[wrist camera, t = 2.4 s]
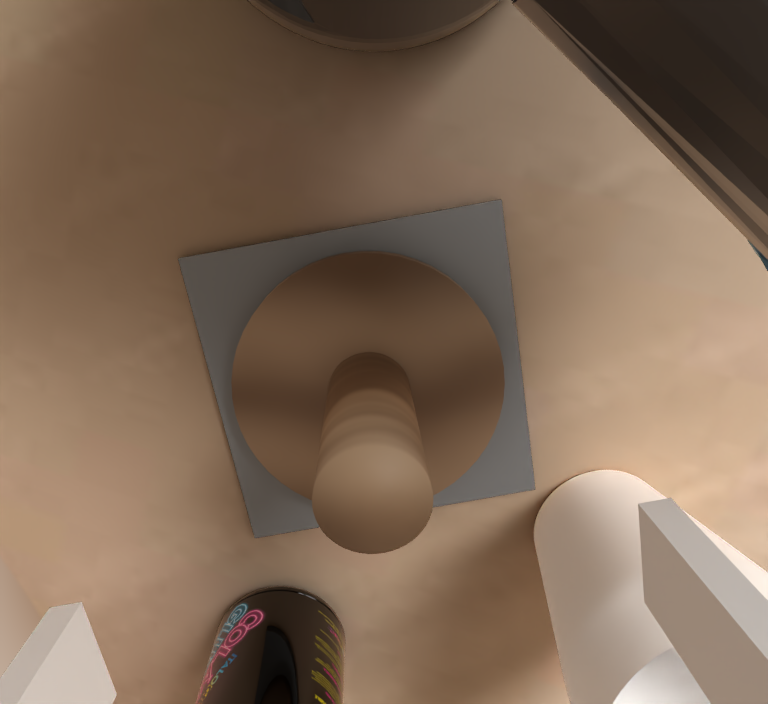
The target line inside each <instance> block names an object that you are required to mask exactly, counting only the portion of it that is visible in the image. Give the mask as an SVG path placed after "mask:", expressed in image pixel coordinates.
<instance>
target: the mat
mask: <svg viewBox="0 0 768 704" xmlns="http://www.w3.org/2000/svg"><path fill="white" fill-rule="evenodd" d="M356 251H383V252H389V253H396V254H400V255H404V256H407V257H411V258H414V259H417V260H419V261H421V262H424V263H426V264H428V265H431V266H433V267H434V268H436V269H437V270H439V271H441V272H442V273H444V274H446V275H447V276H448V277H450V278H451V279H452V280H453V281H455V282H456V283H457V284H458V285H459V286H461V287H462V289H463V290H464V291H465V292H466V293H467V294H468V295H469V296H470V297H471V298H472V299H473V300H474V302H475V303H476V304H477V305H478V307H479V308H480V310H481V311H482V313H483V314H484V315H485V317H486V318H487V320H488V322H489V324H490V326H491V328H492V330H493V332H494V334H495V336H496V339H497V342H498V345H499V348H500V350H501V355H502V360H503V365H504V378H505V388H504V400H503V405H502V409H501V414H500V418H499V420H498V423H497V426H496V429H495V431H494V433H493V435H492V437H491V439H490V441H489V443H488V445H487V447H486V448H485V450H484V451H483V452H482V454H481V455H480V457H479V458H478V459H477V461H476V462H475V463H474V464H473V465H472V466H471V467H470V468H469V470H468V471H467V472H466V473H465V474H463V475H462V476H461V477H460V478H459V479H458V480H456V481H455V482H454V483H453V484H451V485H450V486H448V487H447V488H445V489H444V490H442V491H441V492H439V493H437V494H435V495H433V507H438V506H444V505H450V504H455V503H461V502H467V501H472V500H478V499H484V498H490V497H495V496H501V495H507V494H513V493H518V492H524V491H530V490H535V482H534V473H533V465H532V456H531V447H530V439H529V430H528V422H527V413H526V404H525V396H524V387H523V379H522V370H521V361H520V353H519V344H518V336H517V327H516V318H515V310H514V301H513V293H512V284H511V276H510V267H509V258H508V250H507V241H506V233H505V224H504V215H503V207H502V200H500V199H499V200H494V201H488V202H483V203H477V204H472V205H467V206H461V207H456V208H450V209H445V210H439V211H434V212H428V213H423V214H417V215H412V216H406V217H401V218H395V219H390V220H384V221H379V222H373V223H368V224H363V225H357V226H352V227H346V228H341V229H335V230H330V231H324V232H319V233H313V234H308V235H302V236H297V237H291V238H286V239H280V240H275V241H269V242H264V243H259V244H253V245H248V246H242V247H237V248H231V249H226V250H220V251H215V252H209V253H204V254H198V255H193V256H187V257H182V258H179V259H178V261H179V265H180V268H181V272H182V275H183V279H184V283H185V286H186V290H187V294H188V297H189V301H190V304H191V308H192V312H193V315H194V319H195V323H196V326H197V330H198V334H199V337H200V341H201V344H202V348H203V352H204V355H205V359H206V363H207V366H208V370H209V374H210V377H211V381H212V384H213V388H214V392H215V395H216V399H217V403H218V406H219V410H220V413H221V417H222V421H223V424H224V428H225V432H226V435H227V439H228V443H229V446H230V450H231V453H232V457H233V461H234V464H235V468H236V472H237V475H238V479H239V483H240V486H241V490H242V493H243V497H244V501H245V504H246V508H247V512H248V515H249V519H250V523H251V526H252V530H253V533H254V537H255V538H260V537H266V536H272V535H277V534H283V533H289V532H295V531H300V530H306V529H312V528H318V527H319V525H318V523H317V521H316V519H315V516H314V513H313V508H312V500H310V499H308V498H306V497H304V496H302V495H300V494H298V493H296V492H294V491H293V490H291V489H290V488H288V487H287V486H285V485H284V484H282V483H281V482H280V481H279V480H277V479H276V478H275V477H274V476H273V475H272V474H271V473H269V472H268V471H267V469H266V468H265V467H264V466H263V465H262V464H261V463H260V462H259V460H258V459H257V458H256V456H255V455H254V453H253V452H252V450H251V449H250V447H249V446H248V444H247V442H246V440H245V438H244V436H243V434H242V432H241V430H240V427H239V424H238V421H237V418H236V415H235V410H234V405H233V400H232V384H231V380H232V369H233V362H234V358H235V353H236V349H237V346H238V343H239V341H240V338H241V336H242V333H243V331H244V329H245V327H246V326H247V324H248V322H249V320H250V318H251V317H252V315H253V314H254V312H255V311H256V310H257V308H258V307H259V306H260V304H261V303H262V302H263V300H264V299H265V298H266V296H267V295H268V294H269V293H270V292H271V291H272V290H273V289H274V288H275V287H276V286H277V285H278V284H279V283H281V282H282V281H283V280H285V279H286V278H287V277H289V276H290V275H291V274H293V273H294V272H296V271H298V270H299V269H301V268H303V267H305V266H307V265H308V264H310V263H313V262H315V261H318V260H321V259H323V258H326V257H329V256H333V255H337V254H341V253H347V252H356Z"/></svg>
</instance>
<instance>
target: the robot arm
mask: <svg viewBox="0 0 768 704" xmlns="http://www.w3.org/2000/svg"><path fill="white" fill-rule="evenodd" d="M248 1H249V2H250V3H251V4H252V5H253V6H255V7H256V8H257V9H258V10H260V11H261V12H262V13H264V14H265V15H266V16H268V17H269V18H271V19H272V20H274V21H275V22H277V23H278V24H280V25H282V26H283V27H285V28H287V29H289V30H291V31H293V32H294V33H297V34H299V35H301V36H303V37H306V38H308V39H311V40H313V41H316V42H319V43H322V44H325V45H329V46H333V47H337V48H342V49H348V50H356V51H371V52H381V51H395V50H401V49H408V48H412V47H416V46H421V45H424V44H427V43H430V42H433V41H436V40H438V39H441V38H443V37H446V36H448V35H450V34H452V33H454V32H456V31H458V30H460V29H462V28H464V27H465V26H467V25H469V24H470V23H472V22H473V21H475V20H476V19H478V18H479V17H480V16H482V15H483V14H485V13H486V12H487V11H488V10H490V9H491V8H492V7H493V6H494V5H496V4H497V3H498V2H499V1H500V0H248ZM512 1H513V0H512ZM512 4H513V5H514V6H515V7H516V8H517V9H518V10H519V11H520V12H521V13H522V14H523V15H524V16H525V17H526V18H527V19H528V20H529V21H530V22H531V23H532V24H533V25H534V26H535V27H536V28H537V29H538V30H539V31H540V32H541V33H542V34H543V35H544V36H545V37H546V38H547V39H549V40H550V41H551V42H552V43H553V44H554V45H555V46H556V47H557V48H558V49H559V50H560V51H561V52H562V53H563V54H564V55H565V56H566V57H567V58H568V59H569V60H570V61H571V62H572V63H573V64H574V65H575V66H576V67H577V68H578V69H579V70H580V71H581V72H582V73H583V74H584V75H585V76H586V77H587V78H588V79H589V80H590V81H591V82H592V83H593V84H594V85H595V86H596V87H598V88H599V89H600V90H601V91H602V92H603V93H604V94H605V95H606V96H607V97H608V98H609V99H610V100H611V101H612V102H613V103H614V104H615V105H616V106H617V107H618V108H619V109H620V110H621V111H622V112H623V113H624V114H625V115H626V117H627V118H628V119H629V120H630V121H631V122H632V123H633V124H634V125H635V126H636V127H637V128H638V129H639V130H640V131H641V132H642V133H643V134H644V135H645V136H646V137H647V138H648V139H649V140H650V141H651V142H652V143H653V144H654V145H655V146H656V147H657V148H658V149H659V150H660V151H661V152H662V153H663V154H664V155H665V156H666V157H667V158H668V159H669V160H670V161H671V162H672V163H673V164H674V165H675V166H676V167H677V168H678V169H679V170H680V171H681V172H682V173H683V174H684V175H685V176H686V177H687V178H688V179H689V180H690V181H691V182H692V183H693V184H694V185H695V186H696V187H697V188H698V189H699V190H700V192H701V193H702V194H703V195H704V196H705V197H706V198H707V199H708V200H709V201H710V202H711V203H712V204H713V205H714V206H715V207H716V208H717V209H718V210H719V211H720V212H721V213H722V214H723V215H724V216H725V217H726V218H727V219H728V220H729V221H730V222H731V223H732V224H733V225H734V226H735V227H736V228H737V229H738V230H739V231H740V232H741V233H742V234H743V235H744V236H745V237H746V238H747V239H748V242H749V243H750V245H751V246H752V248H753V249H754V251H755V252H756V254H757V255H758V256H759V257H760V258H761V260H762V262H763V264H764V265H765V267H766V269H767V271H768V0H514V1H513V3H512ZM638 511H639V527H640V543H641V558H642V574H643V590H644V603H645V604H646V606H647V607H648V609H649V610H650V612H651V613H652V615H653V616H654V618H655V619H656V621H657V622H658V624H659V625H660V627H661V628H662V630H663V631H664V633H665V634H666V636H667V638H668V639H669V641H670V642H671V644H672V645H673V647H674V648H675V650H676V651H677V653H678V654H679V656H680V657H681V659H682V660H683V662H684V663H685V665H686V666H687V668H688V669H689V671H690V673H691V674H692V676H693V677H694V679H695V680H696V682H697V683H698V685H699V686H700V688H701V689H702V691H703V692H704V694H705V695H706V697H707V698H708V700H709V701H710V703H711V704H768V600H767V599H766V598H765V597H764V596H763V595H762V594H761V593H760V592H759V591H758V590H757V588H756V587H755V586H754V585H753V584H752V583H751V582H750V581H749V580H748V579H747V578H746V577H745V576H744V575H743V574H742V573H741V572H740V570H739V569H738V568H737V567H736V566H735V565H734V564H733V563H732V562H731V561H730V560H729V559H728V558H727V557H726V556H725V555H724V554H723V552H722V551H721V550H720V549H719V548H718V547H717V546H716V545H715V544H714V543H713V542H712V541H711V540H710V539H709V538H708V537H707V536H706V534H705V533H704V532H703V531H702V530H701V529H700V528H699V527H698V526H697V525H696V524H695V523H694V522H693V521H692V520H691V519H690V518H689V516H688V515H687V514H686V513H685V512H684V511H683V510H682V509H681V508H680V507H679V506H678V505H677V504H676V503H675V502H674V501H673V500H672V498H667V499H661V500H656V501H650V502H644V503H639V504H638ZM116 695H117V693H116V691H115V688H114V685H113V683H112V680H111V678H110V675H109V672H108V670H107V667H106V664H105V662H104V659H103V657H102V654H101V651H100V649H99V646H98V643H97V641H96V638H95V636H94V633H93V630H92V628H91V625H90V622H89V620H88V617H87V615H86V612H85V609H84V607H83V604H82V602H78V603H72V604H67V605H61V606H55V607H50V608H49V609H48V611H47V612H46V613H45V615H44V616H43V618H42V619H41V621H40V622H39V623H38V625H37V626H36V628H35V629H34V631H33V632H32V633H31V635H30V636H29V638H28V639H27V641H26V642H25V643H24V645H23V646H22V648H21V649H20V650H19V652H18V654H17V655H16V656H15V658H14V659H13V661H12V662H11V663H10V665H9V666H8V668H7V669H6V670H5V672H4V673H3V675H2V676H1V678H0V704H113V702H114V700H115V697H116Z"/></svg>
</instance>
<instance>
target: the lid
mask: <svg viewBox="0 0 768 704" xmlns="http://www.w3.org/2000/svg"><path fill="white" fill-rule="evenodd" d="M231 384H232V400H233V405H234V410H235V415H236V418H237V421H238V424H239V427H240V430H241V432H242V434H243V436H244V438H245V440H246V442H247V444H248V446H249V447H250V449H251V450H252V452H253V453H254V455H255V456H256V458H257V459H258V460H259V462H260V463H261V464H262V465H263V466H264V467H265V468H266V469H267V471H268V472H269V473H271V474H272V475H273V476H274V477H275V478H276V479H277V480H279V481H280V482H281V483H282V484H284V485H285V486H287V487H288V488H290V489H291V490H293V491H294V492H296V493H298V494H300V495H302V496H304V497H306V498H308V499H310V500H312V508H313V513H314V516H315V519H316V521H317V523H318V525H319V527H320V528H321V530H322V531H323V532H324V533H325V534H326V536H327V537H329V538H330V539H331V540H332V541H333V542H335V543H336V544H338V545H339V546H341V547H343V548H345V549H348V550H351V551H354V552H359V553H366V554H378V553H385V552H389V551H393V550H395V549H398V548H400V547H402V546H404V545H406V544H408V543H409V542H411V541H412V540H413V539H414V538H416V537H417V536H418V535H419V534H420V532H421V531H422V530H423V529H424V527H425V526H426V524H427V522H428V520H429V518H430V515H431V513H432V508H433V495H435V494H437V493H439V492H441V491H442V490H444V489H445V488H447V487H448V486H450V485H451V484H453V483H454V482H455V481H456V480H458V479H459V478H460V477H461V476H462V475H463V474H465V473H466V472H467V471H468V470H469V468H470V467H471V466H472V465H473V464H474V463H475V462H476V461H477V459H478V458H479V457H480V455H481V454H482V452H483V451H484V450H485V448H486V447H487V445H488V443H489V441H490V439H491V437H492V435H493V433H494V431H495V429H496V426H497V423H498V420H499V418H500V414H501V409H502V405H503V400H504V388H505V378H504V365H503V360H502V355H501V350H500V348H499V345H498V342H497V339H496V336H495V334H494V332H493V330H492V328H491V326H490V324H489V322H488V320H487V318H486V317H485V315H484V314H483V313H482V311H481V310H480V308H479V307H478V305H477V304H476V303H475V302H474V300H473V299H472V298H471V297H470V296H469V295H468V294H467V293H466V292H465V291H464V290H463V289H462V287H461V286H459V285H458V284H457V283H456V282H455V281H453V280H452V279H451V278H450V277H448V276H447V275H446V274H444V273H442V272H441V271H439V270H437V269H436V268H434V267H433V266H431V265H428V264H426V263H424V262H421V261H419V260H417V259H414V258H411V257H407V256H404V255H400V254H396V253H389V252H383V251H356V252H347V253H341V254H337V255H333V256H329V257H326V258H323V259H321V260H318V261H315V262H313V263H310V264H308V265H307V266H305V267H303V268H301V269H299V270H298V271H296V272H294V273H293V274H291V275H290V276H289V277H287V278H286V279H285V280H283V281H282V282H281V283H279V284H278V285H277V286H276V287H275V288H274V289H273V290H272V291H271V292H270V293H269V294H268V295H267V296H266V298H265V299H264V300H263V302H262V303H261V304H260V306H259V307H258V308H257V310H256V311H255V312H254V314H253V315H252V317H251V318H250V320H249V322H248V324H247V326H246V327H245V329H244V331H243V333H242V336H241V338H240V341H239V343H238V346H237V349H236V353H235V358H234V362H233V369H232V380H231Z"/></svg>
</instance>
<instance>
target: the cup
mask: <svg viewBox="0 0 768 704" xmlns="http://www.w3.org/2000/svg"><path fill="white" fill-rule="evenodd" d="M661 499H667V498H666V497H665V496H663V495H662V494H660V493H659V492H658V491H656V490H655V489H654V488H652V487H651V486H650V485H648V484H647V483H646V482H644V481H643V480H641V479H640V478H638V477H636V476H634V475H631V474H629V473H626V472H622V471H616V470H597V471H591V472H587V473H584V474H581V475H578V476H576V477H574V478H571V479H570V480H568V481H566V482H564V483H563V484H562V485H560V486H559V487H558V488H557V489H555V490H554V491H553V492H552V493H551V494H550V495H549V497H548V498H547V499H546V500H545V502H544V503H543V505H542V506H541V508H540V510H539V512H538V515H537V517H536V521H535V525H534V543H535V548H536V553H537V557H538V562H539V566H540V571H541V576H542V580H543V585H544V590H545V594H546V599H547V604H548V608H549V613H550V618H551V622H552V627H553V632H554V636H555V641H556V645H557V650H558V655H559V659H560V664H561V668H562V673H563V677H564V682H565V686H566V689H567V693H568V696H569V700H570V703H571V704H711V703H710V701H709V700H708V698H707V697H706V695H705V694H704V692H703V691H702V689H701V688H700V686H699V685H698V683H697V682H696V680H695V679H694V677H693V676H692V674H691V673H690V671H689V669H688V668H687V666H686V665H685V663H684V662H683V660H682V659H681V657H680V656H679V654H678V653H677V651H676V650H675V648H674V647H673V645H672V644H671V642H670V641H669V639H668V638H667V636H666V634H665V633H664V631H663V630H662V628H661V627H660V625H659V624H658V622H657V621H656V619H655V618H654V616H653V615H652V613H651V612H650V610H649V609H648V607H647V606H646V604H645V603H644V590H643V574H642V558H641V543H640V527H639V511H638V504H639V503H644V502H650V501H656V500H661ZM683 511H684V510H683ZM684 512H685V511H684ZM685 513H686V512H685ZM686 514H687V515H688V516H689V518H690V519H691V520H692V521H693V522H694V523H695V524H696V525H697V526H698V527H699V528H700V529H701V530H702V531H703V532H704V533H705V534H706V536H707V537H708V538H709V539H710V540H711V541H712V542H713V543H714V544H715V545H716V546H717V547H718V548H719V549H720V550H721V551H722V552H723V554H724V555H725V556H726V557H727V558H728V559H729V560H730V561H731V562H732V563H733V564H734V565H735V566H736V567H737V568H738V569H739V570H740V572H741V573H742V574H743V575H744V576H745V577H746V578H747V579H748V580H749V581H750V582H751V583H752V584H753V585H754V586H755V587H756V588H757V590H758V591H759V592H760V593H761V594H762V595H763V596H764V597H765V598H766V599H767V600H768V572H766V571H765V570H764V569H762V568H761V567H759V566H758V565H757V564H755V563H754V562H753V561H751V560H750V559H749V558H747V557H746V556H745V555H743V554H742V553H741V552H739V551H738V550H737V549H735V548H734V547H733V546H731V545H730V544H728V543H727V542H726V541H724V540H723V539H722V538H720V537H719V536H718V535H716V534H715V533H714V532H712V531H711V530H709V529H708V528H707V527H705V526H704V525H703V524H701V523H700V522H699V521H697V520H696V519H694V518H693V517H692V516H690V515H689V514H688V513H686Z"/></svg>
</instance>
